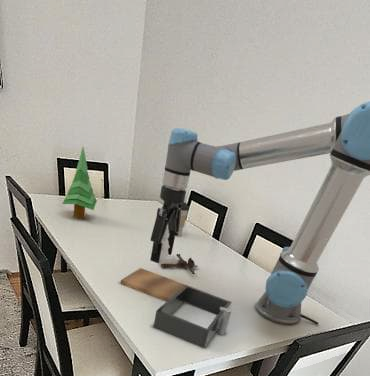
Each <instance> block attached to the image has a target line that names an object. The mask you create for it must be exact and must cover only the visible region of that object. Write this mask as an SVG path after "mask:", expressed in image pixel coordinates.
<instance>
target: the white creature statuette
mask: <svg viewBox="0 0 370 376" xmlns="http://www.w3.org/2000/svg"><path fill="white" fill-rule="evenodd" d="M169 235H170V234H169V230H168V228H166V231H165V233H164V236H163V239H162V242H161V243H162V248H161V254H160V259H159V263H156V262H154V264H155V263H156V264H160V265H161V264H177V263H178V260H179V258H178V257H177V256H175V255H169V254H168V248H170V246H169V243H168V239H167V238H169ZM152 248H153V246H151V249H150V250H149V253H148V255H149V256H148V257H149V259H151V254H152Z"/></svg>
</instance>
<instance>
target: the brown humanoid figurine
mask: <svg viewBox="0 0 370 376" xmlns="http://www.w3.org/2000/svg"><path fill="white" fill-rule="evenodd" d="M175 255H176V256H175V257H176V258H177V259H178V263H177V264H160V267H162V269H165V268H175V267H176V268H177V267H179V268H185V269H187V270H188V271H189V272H190V274H191V275H193V276H194V275H196V271H195V269H194V270H193V268H198V265H196V264H195V261H194V260H193V259H192V257H189V258H187V259H188V260H187V261H186V260H185V259H184V258H182V256H181V253H176V254H175Z"/></svg>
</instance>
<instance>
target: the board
mask: <svg viewBox="0 0 370 376" xmlns="http://www.w3.org/2000/svg"><path fill="white" fill-rule="evenodd" d="M120 284H121V285H124V286H127V287H129V288H132V289H134V290H137V291H139V292H141V293H144V294H147V295H149V296H152V297H155V298H157V299H160V300H162V301H165V302H167V301H168V300H169V299H170V298H172V297H173V296H174V295H175V294H176V293H177V292H179V291H180V290H181V289H182V288H183V287H184V286H185V285H186V284H184V283H182V282H179V281H176V280H174V279H172V278H168V277H165V276H163V275H161V274H158V273H155V272H153V271H150V270H148V269H144V268H143V267H140V268H138V269H137V270H135V271H134V272H131V273H130V274H128V275H126V276H125V277H123V278H121V279H120Z"/></svg>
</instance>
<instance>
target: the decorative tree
mask: <svg viewBox="0 0 370 376" xmlns="http://www.w3.org/2000/svg"><path fill="white" fill-rule="evenodd" d="M88 169H89V168H88V163H87V158H86V153H85V148H84V147H81V152H80V155H79V159H78V163H77V166H76V170H75V173H74V176H73V180H72V182H71V185H70V186H69V189H68V191H67V193H66V195H65V197H64V199H63V201H62V205H73V218H75V219H80V220H81V219H82V220H83V219H85V213H86V209H89V210H92V211H94V210H95V207H96V205H97V202H98V201H97V199H96V195H95V194H94V189H93V187H92V183H91V181H90V175H89V172H88Z"/></svg>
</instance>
